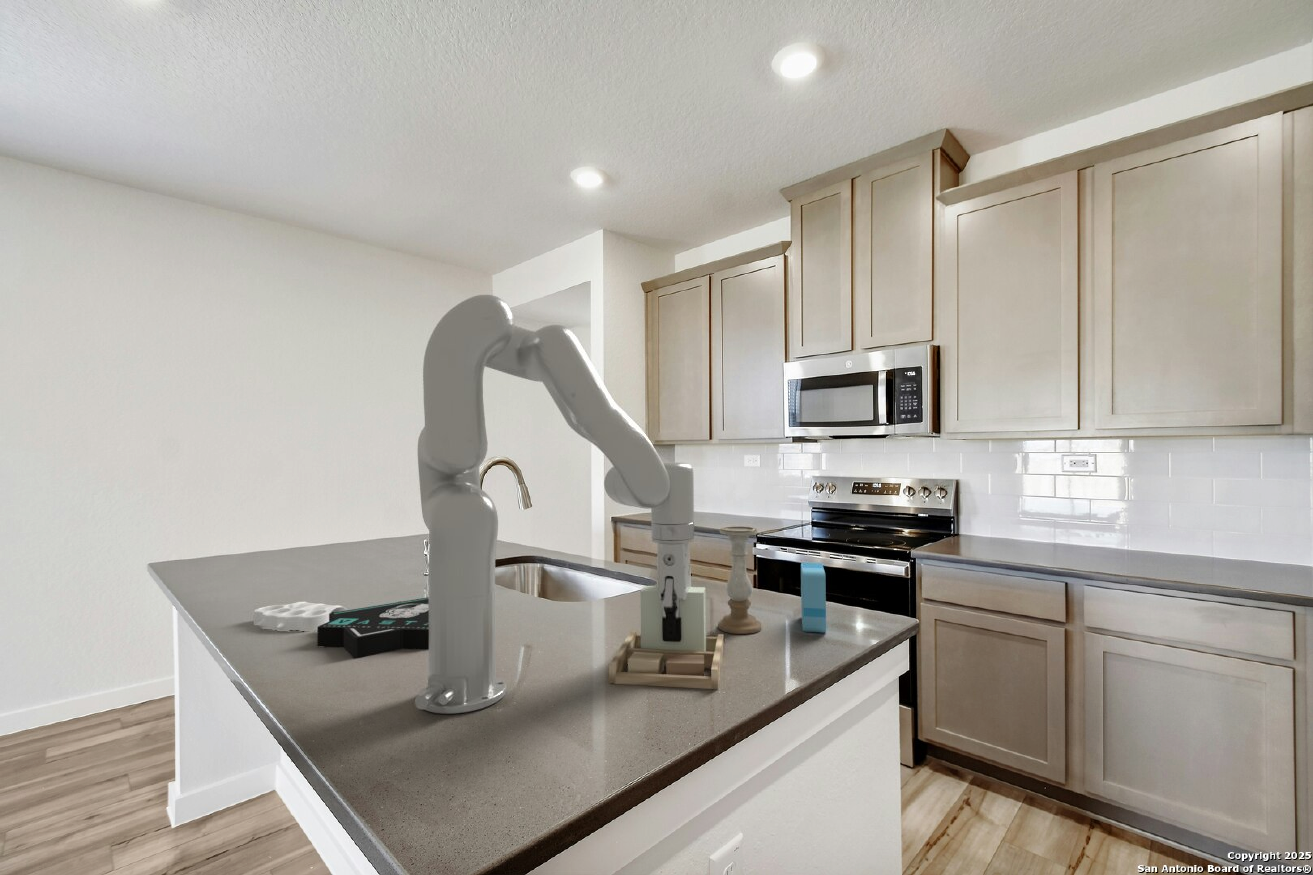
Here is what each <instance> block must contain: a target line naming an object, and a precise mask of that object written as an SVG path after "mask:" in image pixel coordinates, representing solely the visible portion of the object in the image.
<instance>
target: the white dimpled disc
mask: <svg viewBox="0 0 1313 875" xmlns="http://www.w3.org/2000/svg"><path fill="white" fill-rule="evenodd" d="M346 610H347V608H346V607H344V606H342V605H341V604H340V605H339V604H337V605H331V604H325V603H312V602H308V601H297V602H292V603H287V604H275V605H274V604H273V605H267V606H262V607H258V608H256V609H254V611H253V626H254V625H258V627H261V626H262V627H261V629H262V628H263V629H262V630H264V629H275V630H277V631H288V630H302V631H308V630H315V629H317V627H318V626H320V625H323V624H325V623H327V622H329V613H334V612H340V611H346ZM275 630H274V631H275ZM277 631H276V632H277ZM288 632H289V631H288Z"/></svg>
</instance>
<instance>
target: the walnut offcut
mask: <svg viewBox="0 0 1313 875" xmlns="http://www.w3.org/2000/svg"><path fill="white" fill-rule="evenodd" d="M665 667H666V673H665V674H670V675H689V676H705V668H704V655H673V654H668V655H667V662H666V666H665Z"/></svg>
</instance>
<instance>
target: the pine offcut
mask: <svg viewBox="0 0 1313 875" xmlns="http://www.w3.org/2000/svg"><path fill="white" fill-rule="evenodd" d="M627 672H631V673H650V674H663V673H664V666H663V654H660V653H644V652H634V653H633V654H632V655H631V657H630V658H629V659H628V665H627ZM662 672H663V673H662Z"/></svg>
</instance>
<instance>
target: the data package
mask: <svg viewBox="0 0 1313 875" xmlns="http://www.w3.org/2000/svg"><path fill="white" fill-rule="evenodd" d="M826 584H827V583H826V572H825V569H824V565H823V563H821V562H820V563H814V562H801V564H800V595H801V597H800V598H801V599H800V600H801V601H800V604H801V610H800V611H801V627H802V628H801V630H802V631H803V632H807V633H826V632H827V602H826V601H827V596H826V593H827V592H826V588H827V587H826Z"/></svg>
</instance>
